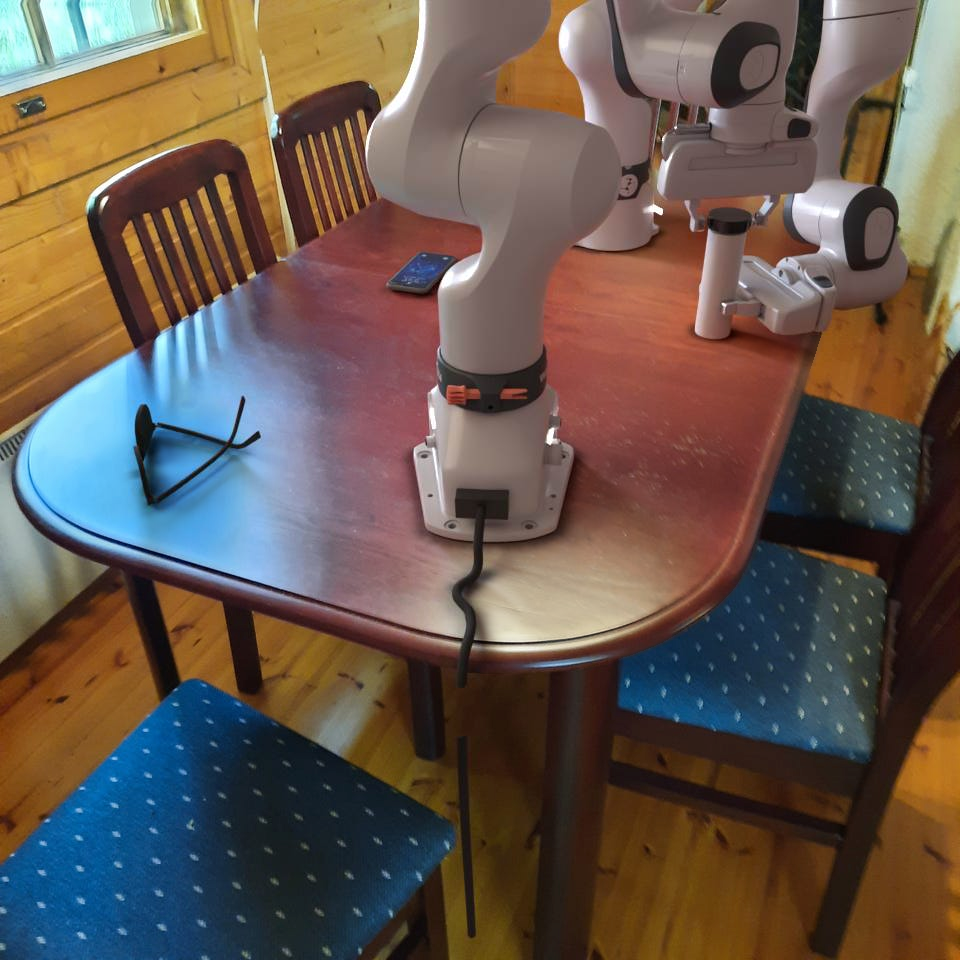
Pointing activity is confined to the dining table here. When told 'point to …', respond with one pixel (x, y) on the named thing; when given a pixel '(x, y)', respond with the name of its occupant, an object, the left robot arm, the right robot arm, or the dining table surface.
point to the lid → (729, 220)
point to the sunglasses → (147, 427)
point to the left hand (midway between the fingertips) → (727, 228)
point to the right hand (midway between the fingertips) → (711, 299)
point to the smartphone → (421, 272)
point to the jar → (719, 282)
